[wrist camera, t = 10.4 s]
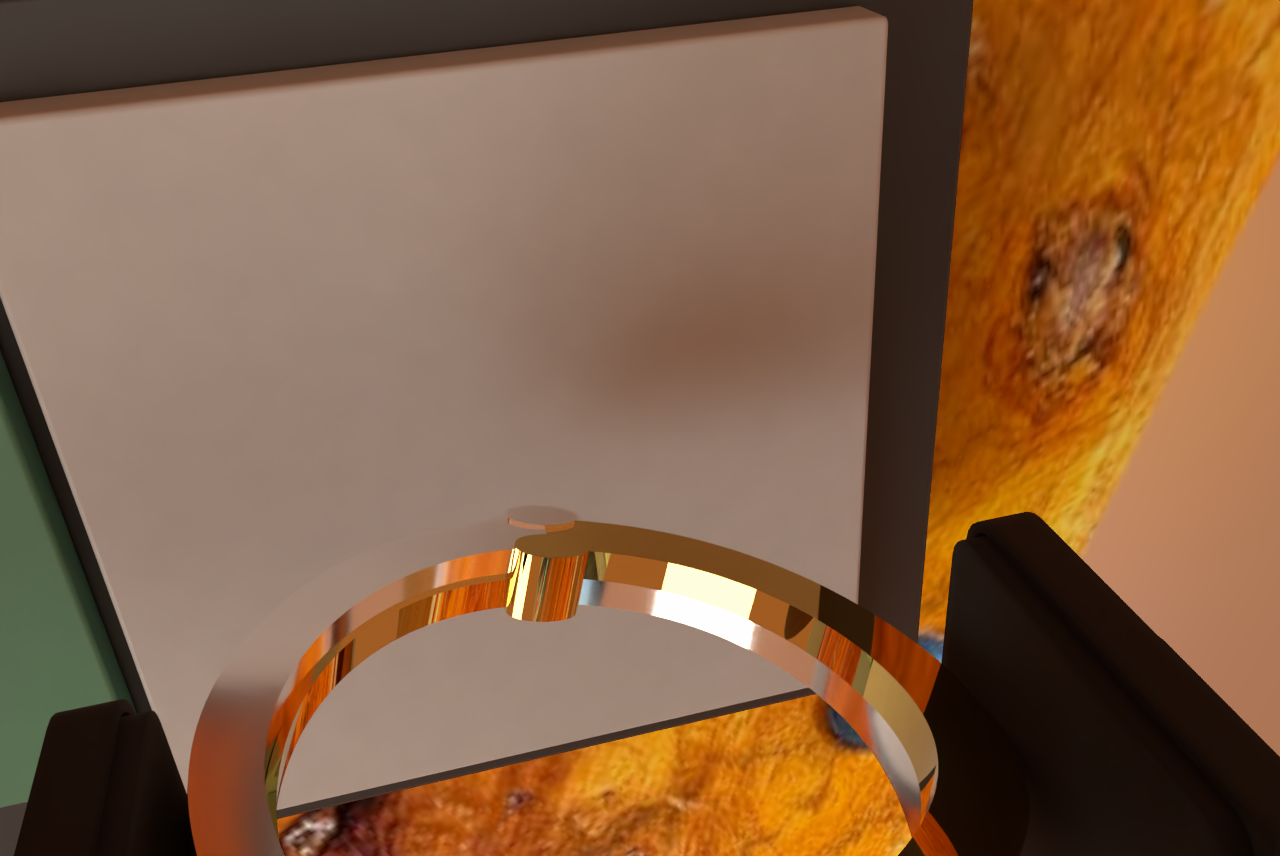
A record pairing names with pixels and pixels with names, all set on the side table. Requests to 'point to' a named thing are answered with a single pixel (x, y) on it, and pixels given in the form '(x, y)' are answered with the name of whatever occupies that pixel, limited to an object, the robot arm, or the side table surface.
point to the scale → (455, 342)
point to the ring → (551, 591)
